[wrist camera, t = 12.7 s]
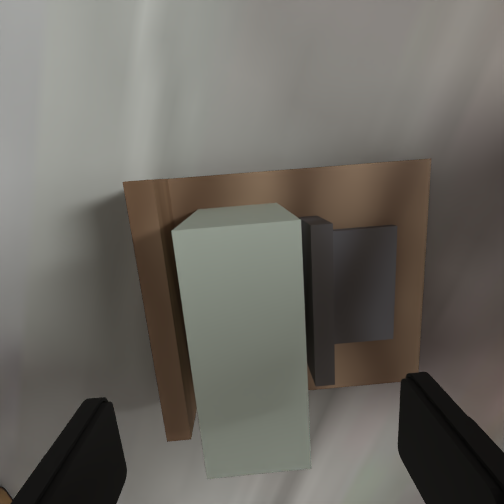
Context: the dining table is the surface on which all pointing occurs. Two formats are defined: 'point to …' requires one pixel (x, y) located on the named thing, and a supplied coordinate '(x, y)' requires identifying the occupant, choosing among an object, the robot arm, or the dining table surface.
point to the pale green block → (246, 336)
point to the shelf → (314, 269)
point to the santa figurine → (5, 497)
